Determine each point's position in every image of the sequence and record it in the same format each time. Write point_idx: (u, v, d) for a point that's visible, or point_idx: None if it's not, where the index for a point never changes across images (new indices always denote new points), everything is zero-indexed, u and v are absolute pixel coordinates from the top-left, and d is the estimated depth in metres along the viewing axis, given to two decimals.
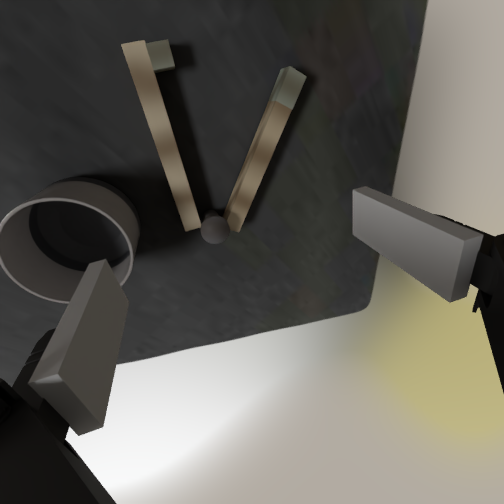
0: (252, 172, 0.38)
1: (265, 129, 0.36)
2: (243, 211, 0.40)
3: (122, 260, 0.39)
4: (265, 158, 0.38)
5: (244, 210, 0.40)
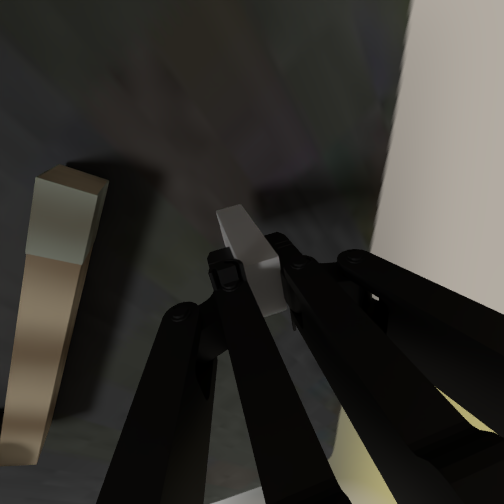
0: (22, 381, 0.17)
1: (21, 309, 0.15)
2: (31, 437, 0.19)
3: None
4: (47, 355, 0.17)
5: (33, 435, 0.19)
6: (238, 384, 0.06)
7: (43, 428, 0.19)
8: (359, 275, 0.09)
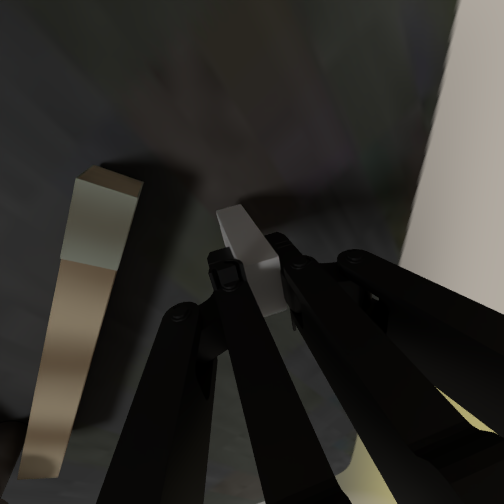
0: (48, 391, 0.16)
1: (52, 316, 0.14)
2: (54, 449, 0.19)
3: None
4: (75, 364, 0.16)
5: (56, 447, 0.19)
6: (238, 384, 0.06)
7: (67, 440, 0.18)
8: (359, 275, 0.09)
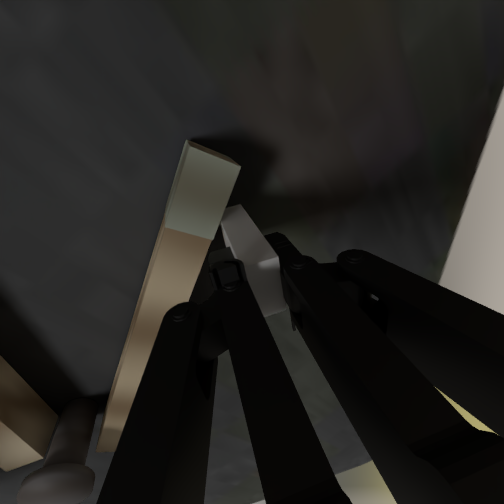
0: (135, 362, 0.17)
1: (149, 286, 0.15)
2: None
3: None
4: None
5: None
6: (239, 384, 0.06)
7: None
8: (359, 275, 0.09)
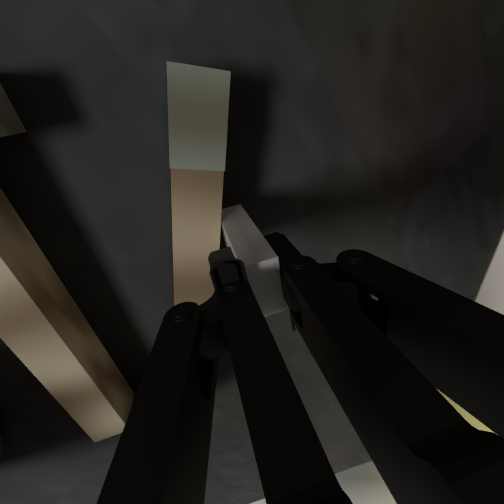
0: None
1: (174, 239, 0.14)
2: None
3: None
4: (204, 291, 0.16)
5: None
6: (239, 384, 0.06)
7: None
8: (358, 275, 0.09)
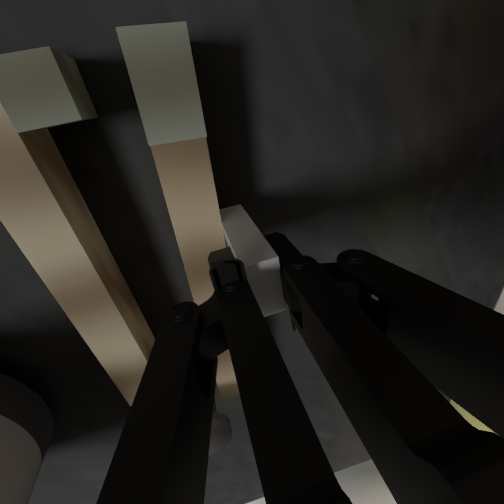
0: None
1: (173, 221, 0.14)
2: None
3: None
4: None
5: None
6: (239, 384, 0.06)
7: None
8: (359, 275, 0.09)
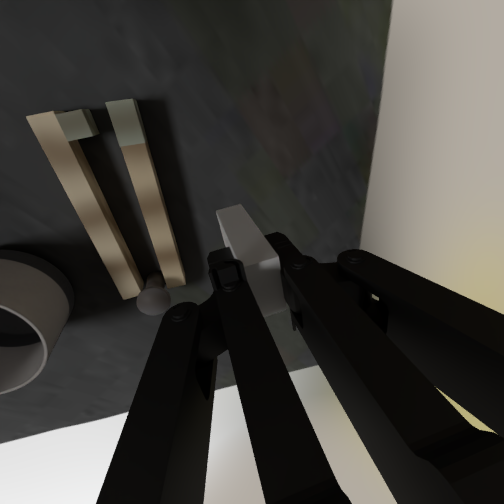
0: (153, 227, 0.33)
1: (133, 180, 0.30)
2: (174, 265, 0.35)
3: None
4: (156, 206, 0.32)
5: (175, 263, 0.35)
6: (238, 384, 0.06)
7: (177, 257, 0.35)
8: (359, 275, 0.09)
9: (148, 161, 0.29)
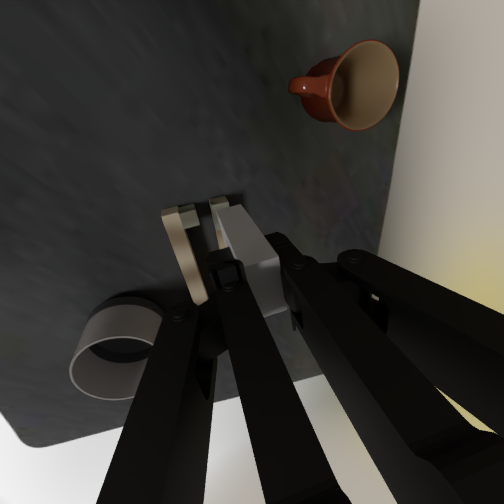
0: None
1: None
2: None
3: None
4: None
5: None
6: (238, 384, 0.06)
7: None
8: (359, 275, 0.09)
9: None
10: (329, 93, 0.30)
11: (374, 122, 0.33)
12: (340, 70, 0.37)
